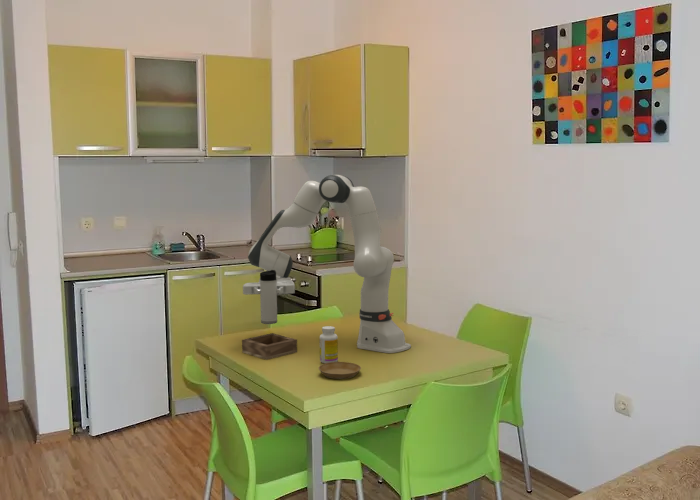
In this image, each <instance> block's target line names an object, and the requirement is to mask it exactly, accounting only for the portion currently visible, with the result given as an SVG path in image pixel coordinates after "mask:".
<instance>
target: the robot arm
mask: <svg viewBox="0 0 700 500" xmlns="http://www.w3.org/2000/svg"><path fill="white" fill-rule="evenodd" d="M326 202H329V203H336V204H344V205H345V206H346V208H347V211H348V215H349V220H350V224H351V225H350V226H351V228H352V229H351V230H352V232H353V239H354V240H353V241H354V260H353V264H352V265H353V269H354V272H355V273H356V274H357V275H358V276H360V277H362V278H363V282H362V286H361V288H360V308H359V312H358V313H359V319H360V323H359V330H358V337H357V341H356V348H357V349H360V350H361V349H362V350H365V351H366V350H367V351H372V352H380V353H385V354H394V353H400V352H403V351H406V350H409V349H411V348H412V344H410V343H408V342H406V338H405V337H406V336H405V333H404V331H403V330H402V329H401V328H400V327H399V326H398V325H397V324H396V323H395V322H394V321H393V320H392V317H393V316H394V312H391V311H390V309H389V290H390V289H389V288H390V281H391V276H392V269H393V265H394V261H395V256H394V254H393V251H392V250H390V249H389V248H387V247H385V246H381V245H382V244H381V233H382V228H381V223H380V219H379V214H378V209H377V206H376V202H375V200H374V198H373V195H372V192H371V190H370V189H369V188H368V187H365V186H360V185H359V186H355V185H354V183H353V181H352V179H350V178H349V177H347V176H344V175H341V174H330V175H326V176H325V177H324V178H322V179H321V180H320V182H319V181H315V180H308V181H306V182H305V183H304V184H303V185H302V186H301V188H300V189H299V190H298V192H297V194H296V196H295V198H294V200H293V202H292V203H291V204H290V206H289V207H288V208H286V209H281V210H280V211H278V213H277V214H276V215H275V216H274V218H273V219H272V220H271V222H270V223H269V224H268V226H267V227H266V229H265V230H264V231H263V233H262V234H261V235H260V237H259V238H258V240H257V241H256V242H254V244H253V245H252V246H251V247H250V249H249V251H248V253H247V254H248V255H247V258H248V261H249V263H250V265H252V266H253V267H254V266H255V267H256V268H257V267H258V268H261V269H263V270H264V271H271V270H275V271H276V282H277V296H279V295H288V294H295V293H296V292H295V291H296V287H295V286H296V285H295V282H294V281H293V280H292V278H291V277H289V276H290V274H291V271H292V268H293V263H294V262H293V258H292V256H291V255H290V254H287V253H286V252H283V251H281V250H279V249H277V248H275V247H272V246H271V245H269V242H270V241H271V240H272V238H273V236H274V235H275V234H276V233H277V231H278V230H280V229H281V228H296V229H297V228H298V229H301V228H307V227H309V226H310V225H312V224H313V223H314V221H315V220H316V219H317V216H318V214H319V212H320V210H321V209H322V207H323V205H324V204H325V203H326ZM242 294H243V295H260V278H259V280H258V282H246V283H244V284H242Z"/></svg>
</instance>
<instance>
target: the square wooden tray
mask: <svg viewBox="0 0 700 500" xmlns="http://www.w3.org/2000/svg"><path fill="white" fill-rule="evenodd" d="M241 348H242V349H241V350H242V351H241V352H242V353H243V354H247V355H249V356H253V357H255V358H259V359H262V360H271V359H275V358H279V357H283V356H287V355H291V354H296V353H298V340H297V339H296V338H293V337H290V336H289V337H288V336H284V335H282V334H277V333H273V332H271V333H270V332H269V333H268V334H267V333H266V334H263V335H257V336H253V337H248V338H244V339H241Z"/></svg>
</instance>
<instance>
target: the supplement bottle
mask: <svg viewBox="0 0 700 500" xmlns="http://www.w3.org/2000/svg"><path fill="white" fill-rule="evenodd" d="M321 332H322V334H320V335H319V362H320V363H322V364H325V363H330V362H339V353H338V352H339V347H338V346H339V343H338V342H339V341H338V339H339V338H338V335H337V334H336V333H335V332H336V327H334V326H330V325H329V326H328V325H327V326H326V325H325V326H322V328H321Z"/></svg>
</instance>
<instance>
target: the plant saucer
mask: <svg viewBox="0 0 700 500" xmlns="http://www.w3.org/2000/svg"><path fill="white" fill-rule="evenodd" d="M361 369H362V367H361V365H359V364H357V363H354V362H348V361H346V362H345V361H337V362H330V363H322V364H320V365H319V366H318V370H319V372H320V373H321V374H322V375H323V376H325V377H326V378H328V379H335V380H345V379H349V378H354V377H355V376H356V375H357V374H358V373H359V372H360V371H361Z"/></svg>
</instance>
